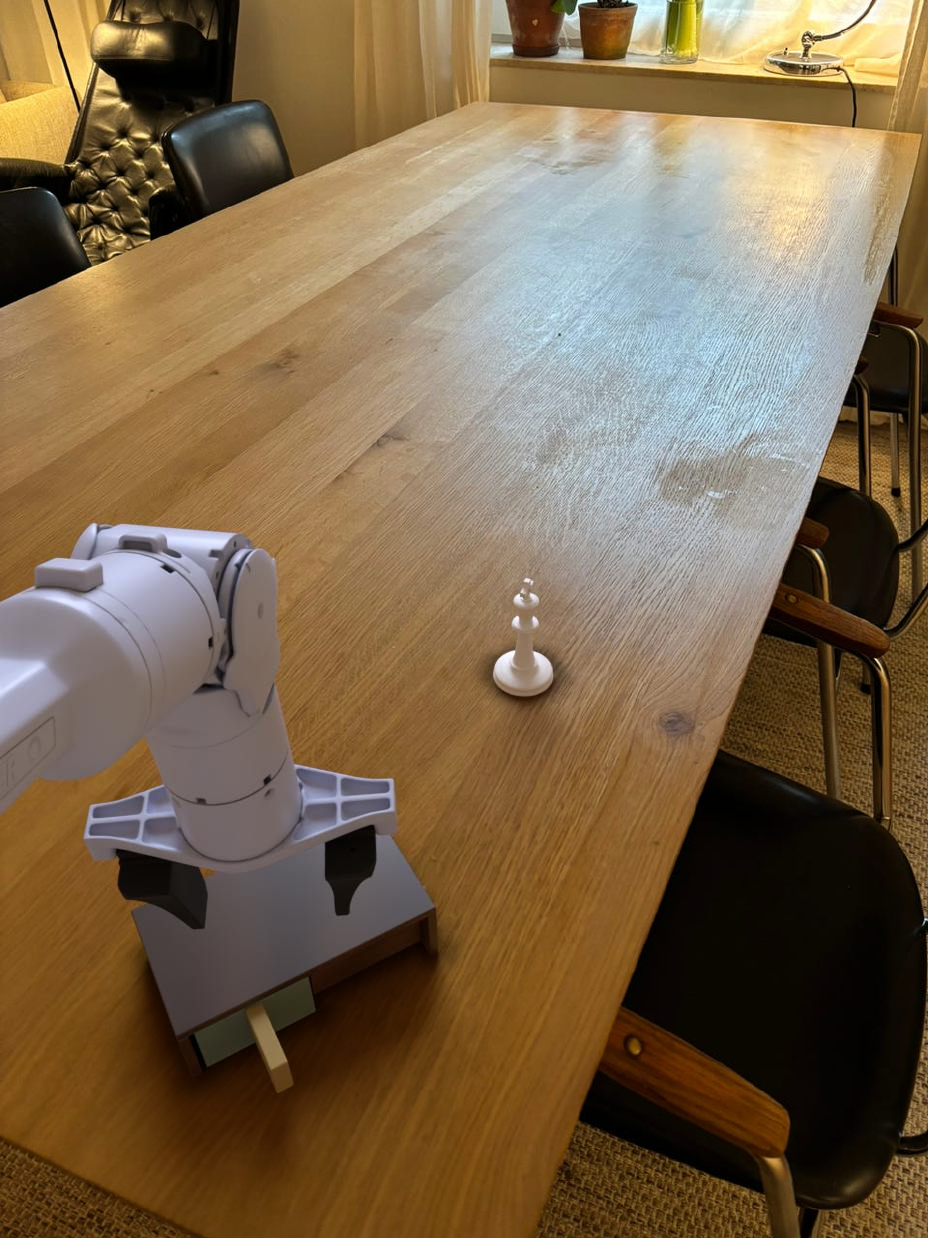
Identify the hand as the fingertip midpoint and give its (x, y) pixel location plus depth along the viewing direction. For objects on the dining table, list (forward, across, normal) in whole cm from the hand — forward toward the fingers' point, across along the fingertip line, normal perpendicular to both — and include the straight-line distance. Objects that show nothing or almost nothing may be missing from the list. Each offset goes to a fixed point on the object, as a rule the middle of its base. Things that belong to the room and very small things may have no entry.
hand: (271, 905), depth 53 cm
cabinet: (+10, 0, -2) cm, 11 cm away
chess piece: (+13, -18, -26) cm, 34 cm away
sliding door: (+10, +1, +5) cm, 11 cm away
